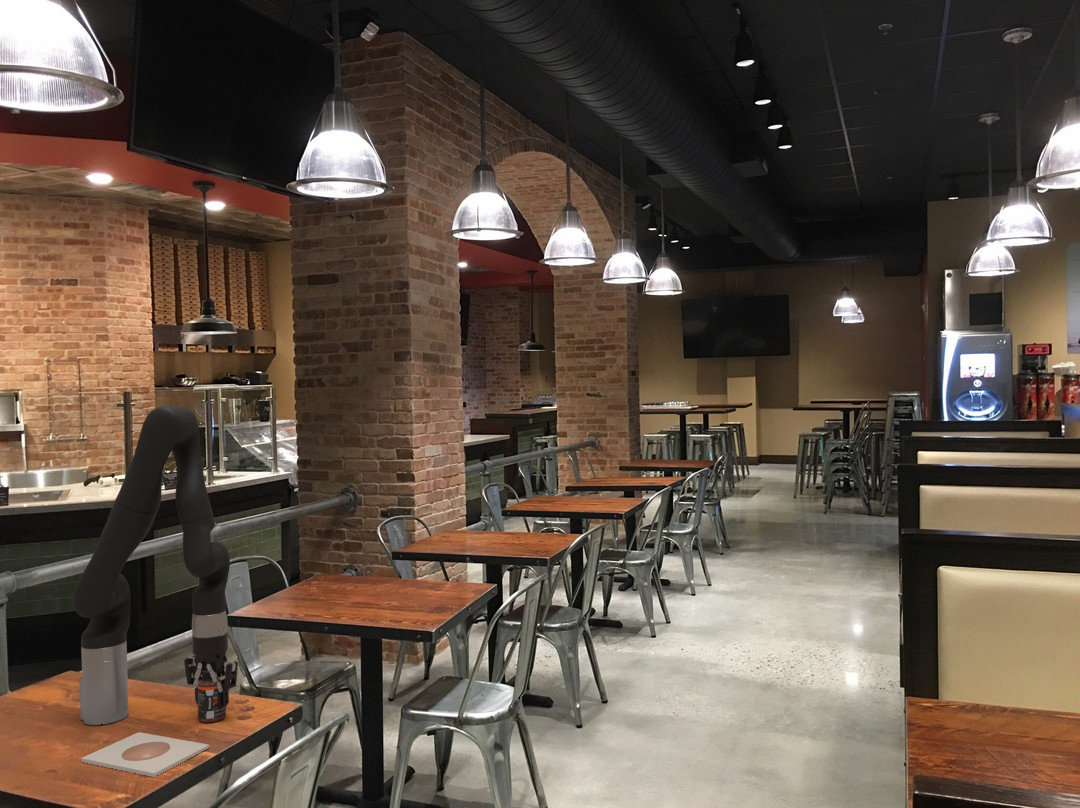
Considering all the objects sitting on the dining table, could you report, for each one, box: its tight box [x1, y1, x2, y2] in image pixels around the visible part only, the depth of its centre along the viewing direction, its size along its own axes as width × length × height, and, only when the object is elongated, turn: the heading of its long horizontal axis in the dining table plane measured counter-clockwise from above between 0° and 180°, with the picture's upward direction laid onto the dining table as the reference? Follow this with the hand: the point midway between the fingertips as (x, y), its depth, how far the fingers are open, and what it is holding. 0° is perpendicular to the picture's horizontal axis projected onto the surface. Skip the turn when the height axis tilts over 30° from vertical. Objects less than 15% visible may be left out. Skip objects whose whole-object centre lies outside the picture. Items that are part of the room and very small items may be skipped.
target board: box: [80, 731, 211, 778], centre depth 171 cm, size 20×14×1 cm
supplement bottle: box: [197, 670, 227, 724], centre depth 190 cm, size 6×6×11 cm
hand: (212, 704), depth 190 cm, fingers closed on supplement bottle, 6 cm apart
